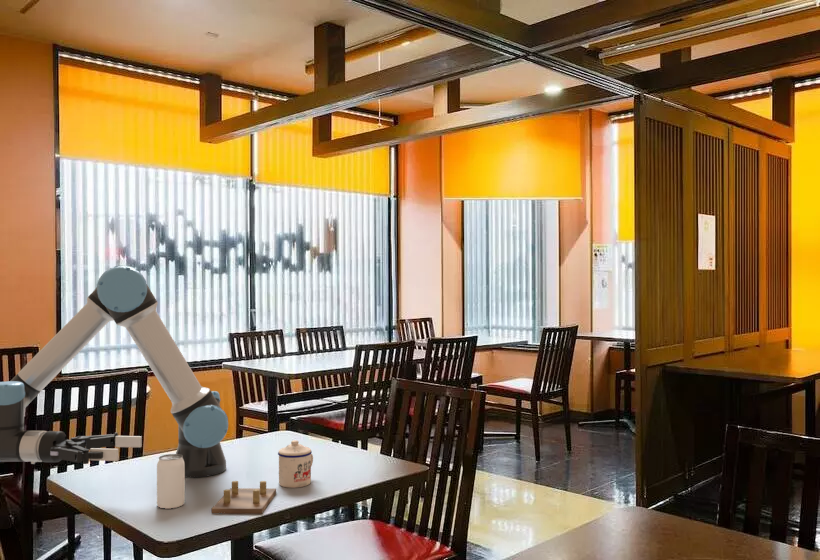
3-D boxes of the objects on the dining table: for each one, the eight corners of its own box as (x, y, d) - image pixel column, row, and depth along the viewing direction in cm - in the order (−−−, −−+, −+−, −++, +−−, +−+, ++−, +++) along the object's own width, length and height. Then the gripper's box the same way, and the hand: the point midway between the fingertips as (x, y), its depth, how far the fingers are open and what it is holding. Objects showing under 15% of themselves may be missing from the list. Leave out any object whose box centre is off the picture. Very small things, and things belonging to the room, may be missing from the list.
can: (159, 511, 168) (158, 461, 168) (155, 503, 173) (155, 455, 173) (186, 507, 171) (186, 458, 171) (182, 499, 176) (182, 452, 176)
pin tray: (230, 492, 182) (230, 476, 182) (276, 493, 181) (276, 477, 181) (211, 513, 166) (211, 495, 166) (261, 513, 165) (261, 496, 165)
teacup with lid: (297, 490, 184) (297, 446, 184) (271, 485, 188) (270, 442, 188) (324, 479, 194) (324, 437, 194) (299, 474, 199) (299, 433, 199)
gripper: (70, 449, 185) (149, 451, 184) (15, 475, 160) (106, 477, 159) (70, 421, 185) (150, 422, 184) (15, 442, 160) (107, 444, 160)
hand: (130, 448), depth 172 cm, fingers open, 13 cm apart
